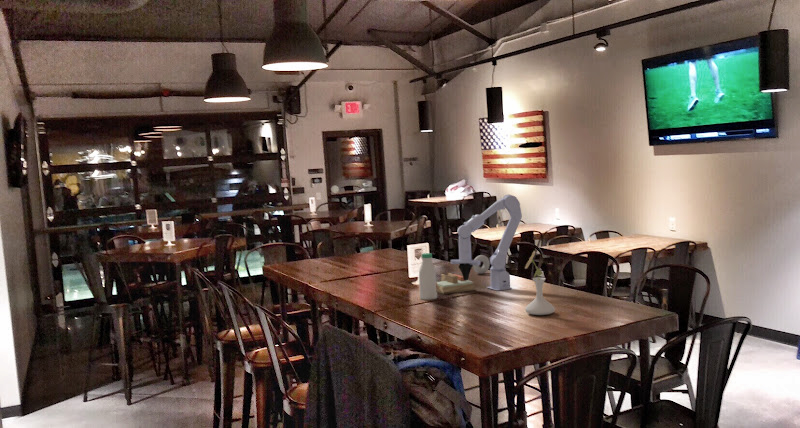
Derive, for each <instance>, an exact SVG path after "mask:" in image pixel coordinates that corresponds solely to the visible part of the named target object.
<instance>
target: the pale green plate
mask: <svg viewBox="0 0 800 428" xmlns="http://www.w3.org/2000/svg"><path fill="white" fill-rule="evenodd" d="M452 274H453V273H451V274H450V275H448V274H445V275H446V276H447V281H441V280H440V281H437V285H438V286H441V287H451V286H458V285H466V284H473V283H474V281H471V280H469V279H468V280H464V281H460V280H458V276H456V275H457V274H456V275H452Z"/></svg>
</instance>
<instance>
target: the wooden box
mask: <svg viewBox="0 0 800 428" xmlns="http://www.w3.org/2000/svg"><path fill="white" fill-rule="evenodd" d="M470 291H475V283H474V282H473V284H466V285H458V286H451V287H441V286H438V285H437V293H439V294H442V295H447V294H454V293H461V292H462V293H464V292H470Z"/></svg>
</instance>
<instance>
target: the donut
mask: <svg viewBox="0 0 800 428" xmlns="http://www.w3.org/2000/svg"><path fill="white" fill-rule="evenodd" d="M473 260H478V261H481V263H483V264H482V266H481V265H473V266H472V269H473V270H474V271H475V273H477V274H479V275H480V274H485V273H486V272H488V270H490V265H491V264H490V258H489V257H487V256H486V255H483V254H480V255H477V256H476V257H475V258H474V259H473Z"/></svg>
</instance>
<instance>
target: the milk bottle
mask: <svg viewBox="0 0 800 428" xmlns="http://www.w3.org/2000/svg"><path fill="white" fill-rule="evenodd" d="M432 259H433V254H432V253H431V252H430V253H429V252H428V253H426V252H424V253H421V260H422V261H421V265H420V268H419V271H418V272H419V273H418V280H419V281H418V282H419V283H418V284H419V298H420V300H423V301H425V300H426V301H430V300H436V299H437V298H438V292H437V282H438V281H437V271H436V268H435V265H434V263H433V260H432Z"/></svg>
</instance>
